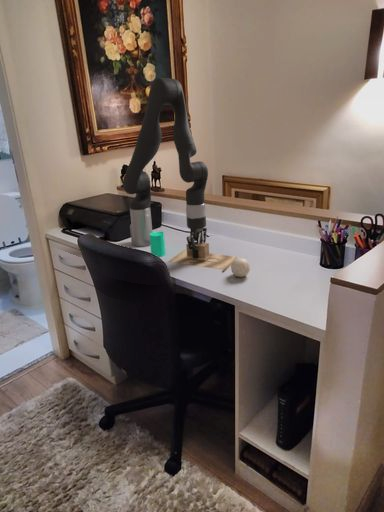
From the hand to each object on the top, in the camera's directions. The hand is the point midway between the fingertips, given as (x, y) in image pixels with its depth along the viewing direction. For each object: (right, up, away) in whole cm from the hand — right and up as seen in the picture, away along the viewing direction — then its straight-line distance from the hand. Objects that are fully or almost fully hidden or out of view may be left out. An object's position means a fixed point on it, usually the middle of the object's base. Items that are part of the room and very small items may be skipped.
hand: (198, 256), depth 154 cm
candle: (-17, -1, +8) cm, 18 cm away
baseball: (+15, -8, -14) cm, 22 cm away
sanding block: (0, -1, 0) cm, 1 cm away
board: (+2, -2, 0) cm, 3 cm away
